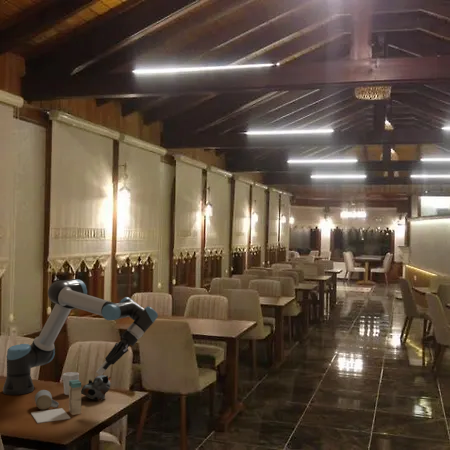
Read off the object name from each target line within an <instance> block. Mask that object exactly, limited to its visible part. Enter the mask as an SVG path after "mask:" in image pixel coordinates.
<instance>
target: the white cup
mask: <svg viewBox="0 0 450 450" xmlns="http://www.w3.org/2000/svg"><path fill="white" fill-rule="evenodd" d="M79 376H80V373H79V372H77V371H70V372H69V371H67V372H64V373H63V374H62V378H63V380H62V381H63V382H62V383H63V385H62V386H63V394H64V395H66V396H69V381H71V380H79V381H80V377H79Z"/></svg>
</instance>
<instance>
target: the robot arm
mask: <svg viewBox="0 0 450 450" xmlns="http://www.w3.org/2000/svg"><path fill="white" fill-rule="evenodd" d="M47 295H48V296H47V297H48V299H49V300H50V301H51V302H52V303H53V304H54V307H53V309H52V310H51V312H50V314H49V317H48V318H47V320H46V322H45V324H44V325H43V328H41V329H42V330H41V331H40V333H39V336H36V337H35V338H33V341H32V342H31V344H29V343H20V344H16V345H15V344H14V345H12V346H10V347H8V348H7V350H6V351H7V352H6V353H7V354H6V378H5V382H4V384H3V386H2V393H3V394H4V395H7V396H10V395H11V396H16V395H19V396H20V395H25V394H29V393H32V392H33V391H34V390H35V385H34V381H33V379H32V376H31V368H36V367H40V366H44V365H45V366H46V365H47V364H49V363H51V362H52V361H53V359H54V358H55V354H56V352H55V351H56V348H55V341H56V339H57V338H58V335H59V333H60V332H61V330H62V328H63V326H64V325H65V322H66V320H67V319H68V317H69V315H70V313H71V310H74V309H78V310H82V311H85V312H88V313H92V314H95V315H98V316H101V317H103V318H104V319H105V320H106V321H116V320H120V319H124V318H130V319H132V320H133V321H132V323H131V324H130V325H129V326H128V327H127V330H125V331H124V332H123V333H122V334H121V338H122V339H121V340H120V341H119V342H116V343H115V345H114V346H113V347H112V348H111V350H110V351H109V352H108V354H107V356H106V357H105V360H104V362H103V363H101V365H100V366H99V368H98V369H97V370H96V371H95V373H97V375H98V376H101V375H104V373H105V372H106V371H107V370H108V369H109V367H111V365H112V366H113V365H115V364H116V362H118V361H119V360H120V359H121V358H122V357H123V356H124V355H125V354H126V353H127V352H129V349H128V348H129V347H130V346H132V347H134V346H135V345H136V343H137V342H138V340H140V339H141V337H143V336H144V334H145V333H146V331H147V330H148V329H150V327H151V326H152V325H153V324H154V323H155V321H156V320H157V318H159V315H158V312H157V311H156V310H155V309H154V308H153V307H150V306H149V305H148V306H146V307H145V308H144V307H143V306H141V305H140V304H139V303H137V302H136V301H135V300H134V299H132V298H130V297H128V296H125V297H124V298H122V299H121V300H120V301H119V302H118V303H117V302H112V301H110V300H106V299H102V298H99V297H96V296H93V295H89V294H88V289H87V285H86V284H85V282H84V281H83V280H81V279H77V278H72V279H64V280H56V281H54V282H52V283H51V284H50V286H49V287H48V289H47Z"/></svg>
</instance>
